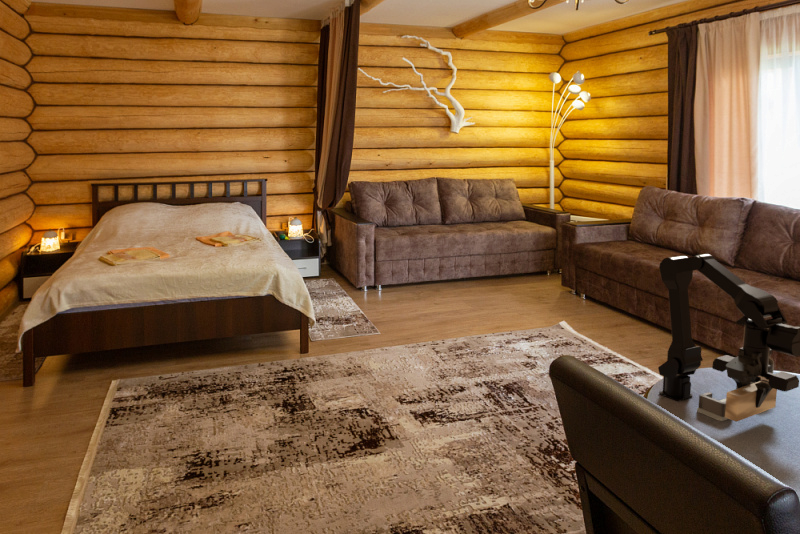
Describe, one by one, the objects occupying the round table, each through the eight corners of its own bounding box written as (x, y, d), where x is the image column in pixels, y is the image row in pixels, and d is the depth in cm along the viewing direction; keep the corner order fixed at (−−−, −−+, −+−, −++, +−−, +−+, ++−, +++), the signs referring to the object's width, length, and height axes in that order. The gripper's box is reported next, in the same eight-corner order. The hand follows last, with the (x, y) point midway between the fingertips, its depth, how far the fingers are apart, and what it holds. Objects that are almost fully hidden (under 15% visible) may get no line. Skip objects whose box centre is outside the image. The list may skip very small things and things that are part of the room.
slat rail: (697, 411, 165) (698, 395, 164) (745, 394, 175) (746, 379, 174) (721, 421, 159) (722, 404, 158) (770, 403, 169) (771, 387, 168)
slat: (724, 417, 153) (726, 392, 152) (763, 403, 160) (765, 379, 159) (736, 421, 150) (738, 396, 149) (775, 407, 158) (777, 382, 157)
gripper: (700, 340, 156) (696, 399, 159) (775, 362, 140) (769, 426, 143) (728, 333, 162) (723, 390, 165) (803, 353, 145) (796, 415, 148)
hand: (751, 404), depth 155 cm, fingers closed on slat, 3 cm apart
